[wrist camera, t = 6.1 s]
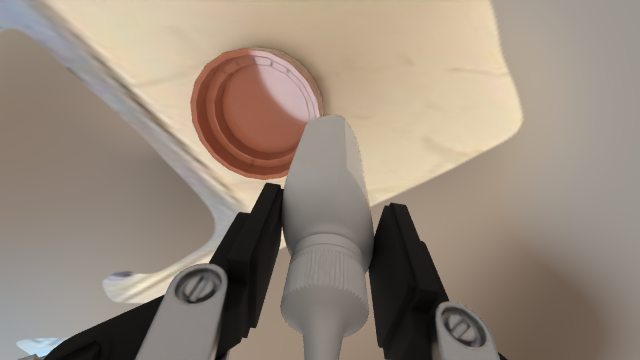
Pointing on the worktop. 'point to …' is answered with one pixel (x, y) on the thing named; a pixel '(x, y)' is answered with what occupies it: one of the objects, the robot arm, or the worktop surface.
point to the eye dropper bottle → (326, 238)
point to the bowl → (254, 110)
